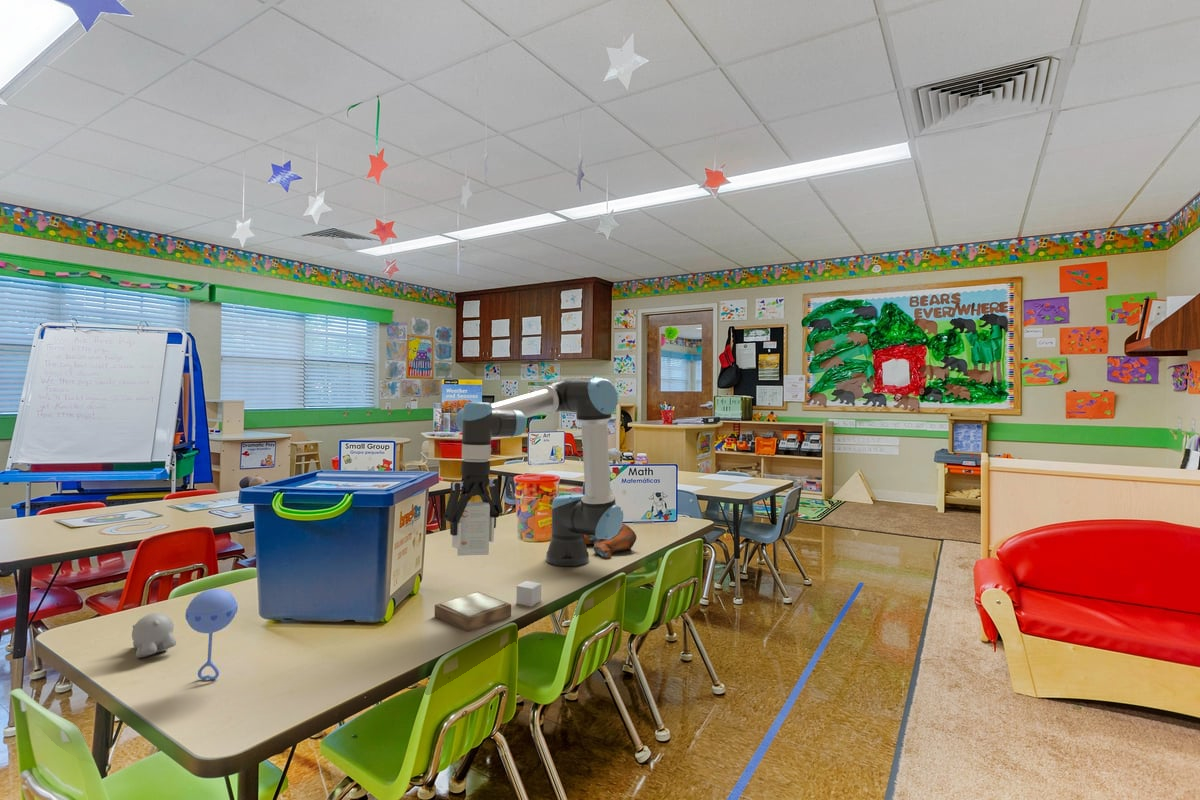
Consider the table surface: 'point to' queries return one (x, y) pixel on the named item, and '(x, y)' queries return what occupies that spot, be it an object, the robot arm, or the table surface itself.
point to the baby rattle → (211, 618)
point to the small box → (475, 529)
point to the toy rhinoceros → (153, 634)
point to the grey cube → (528, 593)
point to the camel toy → (613, 542)
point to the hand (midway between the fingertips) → (473, 544)
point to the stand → (472, 610)
